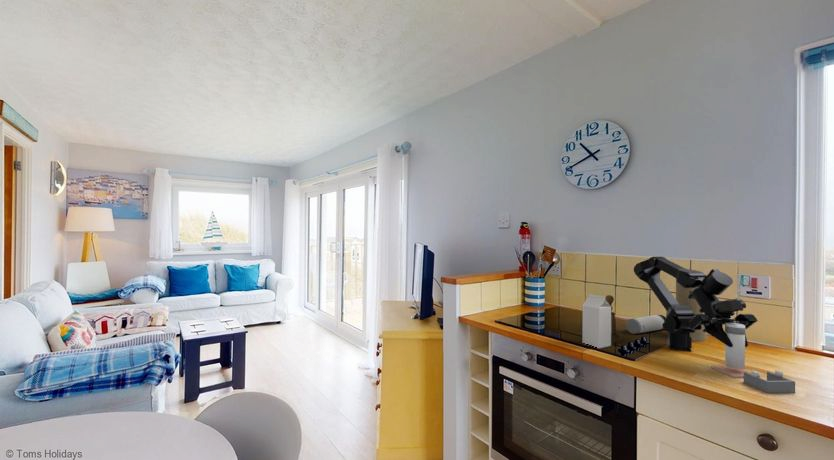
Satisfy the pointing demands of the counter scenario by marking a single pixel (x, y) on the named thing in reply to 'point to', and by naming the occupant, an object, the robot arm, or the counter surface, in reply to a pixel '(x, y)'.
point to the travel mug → (645, 324)
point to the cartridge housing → (770, 382)
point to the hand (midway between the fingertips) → (739, 346)
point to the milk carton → (596, 321)
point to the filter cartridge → (735, 345)
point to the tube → (694, 306)
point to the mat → (731, 371)
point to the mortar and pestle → (612, 321)
